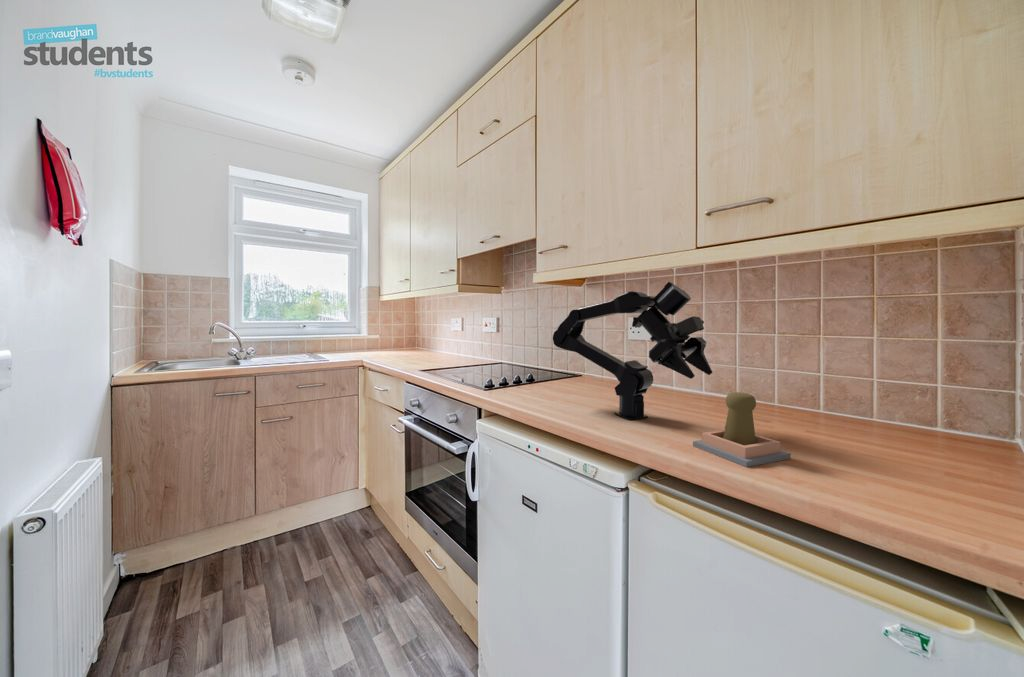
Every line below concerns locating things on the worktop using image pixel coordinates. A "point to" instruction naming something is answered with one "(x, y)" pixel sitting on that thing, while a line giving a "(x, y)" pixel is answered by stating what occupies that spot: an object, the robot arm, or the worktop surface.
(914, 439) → the worktop surface
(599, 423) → the worktop surface
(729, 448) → the stand
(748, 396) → the olive pepper mill
